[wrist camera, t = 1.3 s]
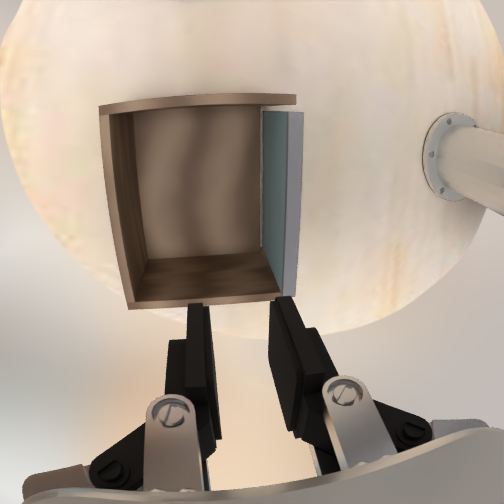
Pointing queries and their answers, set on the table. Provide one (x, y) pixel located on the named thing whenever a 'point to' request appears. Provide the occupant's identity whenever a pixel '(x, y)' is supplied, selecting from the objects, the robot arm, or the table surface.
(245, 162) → the box
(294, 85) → the table surface
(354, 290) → the table surface
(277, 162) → the light blue panel
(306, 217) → the table surface
